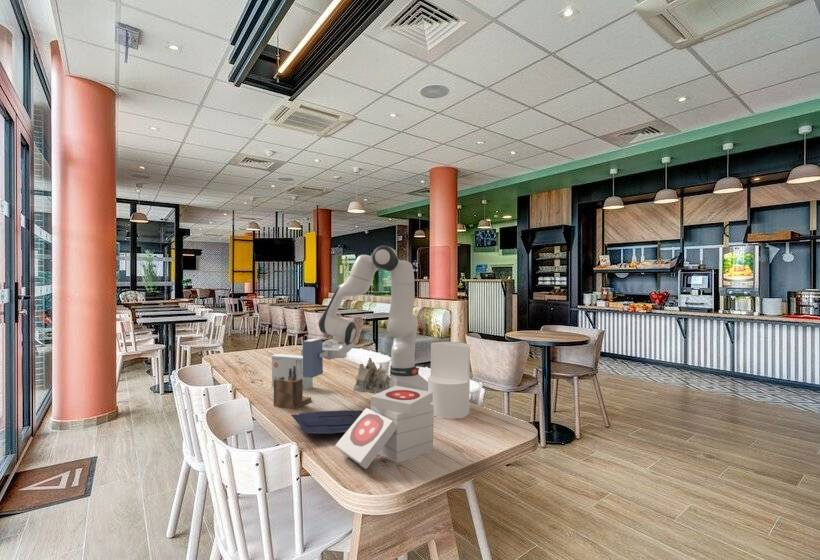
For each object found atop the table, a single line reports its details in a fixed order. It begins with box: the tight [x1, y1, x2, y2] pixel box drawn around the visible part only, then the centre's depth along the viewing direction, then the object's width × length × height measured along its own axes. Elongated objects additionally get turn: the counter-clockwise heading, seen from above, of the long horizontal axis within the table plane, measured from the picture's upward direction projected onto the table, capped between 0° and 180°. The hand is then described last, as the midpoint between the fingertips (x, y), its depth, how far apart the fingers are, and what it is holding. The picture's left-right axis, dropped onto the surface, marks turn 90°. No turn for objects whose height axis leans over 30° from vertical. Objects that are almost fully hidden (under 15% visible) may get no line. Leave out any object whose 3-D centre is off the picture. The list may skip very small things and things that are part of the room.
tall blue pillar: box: [302, 338, 324, 379], centre depth 173 cm, size 4×8×15 cm, turn 160°
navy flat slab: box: [290, 409, 364, 435], centre depth 152 cm, size 24×30×4 cm
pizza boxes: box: [334, 386, 434, 470], centre depth 129 cm, size 19×30×18 cm, turn 128°
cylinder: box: [427, 341, 471, 419], centre depth 169 cm, size 17×17×28 cm
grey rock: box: [353, 357, 391, 393], centre depth 202 cm, size 16×16×15 cm
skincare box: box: [271, 353, 314, 391], centre depth 205 cm, size 21×5×16 cm, turn 73°
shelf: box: [273, 377, 312, 410], centre depth 179 cm, size 11×12×12 cm
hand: (313, 355), depth 173 cm, fingers closed on tall blue pillar, 4 cm apart
